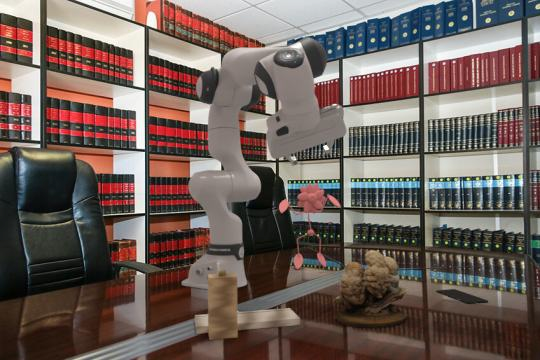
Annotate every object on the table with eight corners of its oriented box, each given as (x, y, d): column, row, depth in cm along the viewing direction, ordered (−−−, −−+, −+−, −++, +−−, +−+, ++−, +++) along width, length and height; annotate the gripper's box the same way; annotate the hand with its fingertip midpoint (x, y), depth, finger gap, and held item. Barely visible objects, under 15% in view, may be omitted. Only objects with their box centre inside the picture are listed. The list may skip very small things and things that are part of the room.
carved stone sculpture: (393, 310, 107) (392, 245, 108) (419, 325, 96) (418, 251, 96) (328, 315, 103) (328, 247, 104) (347, 331, 92) (347, 254, 92)
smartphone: (467, 302, 112) (434, 290, 127) (467, 305, 112) (434, 293, 127) (489, 300, 114) (454, 288, 128) (489, 303, 113) (454, 291, 128)
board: (196, 333, 90) (196, 326, 91) (194, 321, 99) (194, 315, 99) (300, 324, 96) (300, 318, 96) (290, 314, 105) (289, 307, 105)
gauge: (209, 339, 87) (209, 273, 87) (205, 322, 98) (205, 264, 99) (237, 337, 88) (237, 271, 89) (230, 320, 100) (230, 262, 100)
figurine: (276, 268, 169) (276, 183, 170) (334, 264, 176) (334, 183, 176) (287, 275, 154) (287, 183, 155) (350, 272, 161) (349, 183, 162)
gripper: (337, 95, 102) (344, 139, 111) (259, 121, 101) (272, 163, 110) (346, 108, 97) (352, 152, 106) (265, 135, 97) (278, 177, 106)
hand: (311, 158), depth 108 cm, fingers open, 8 cm apart
